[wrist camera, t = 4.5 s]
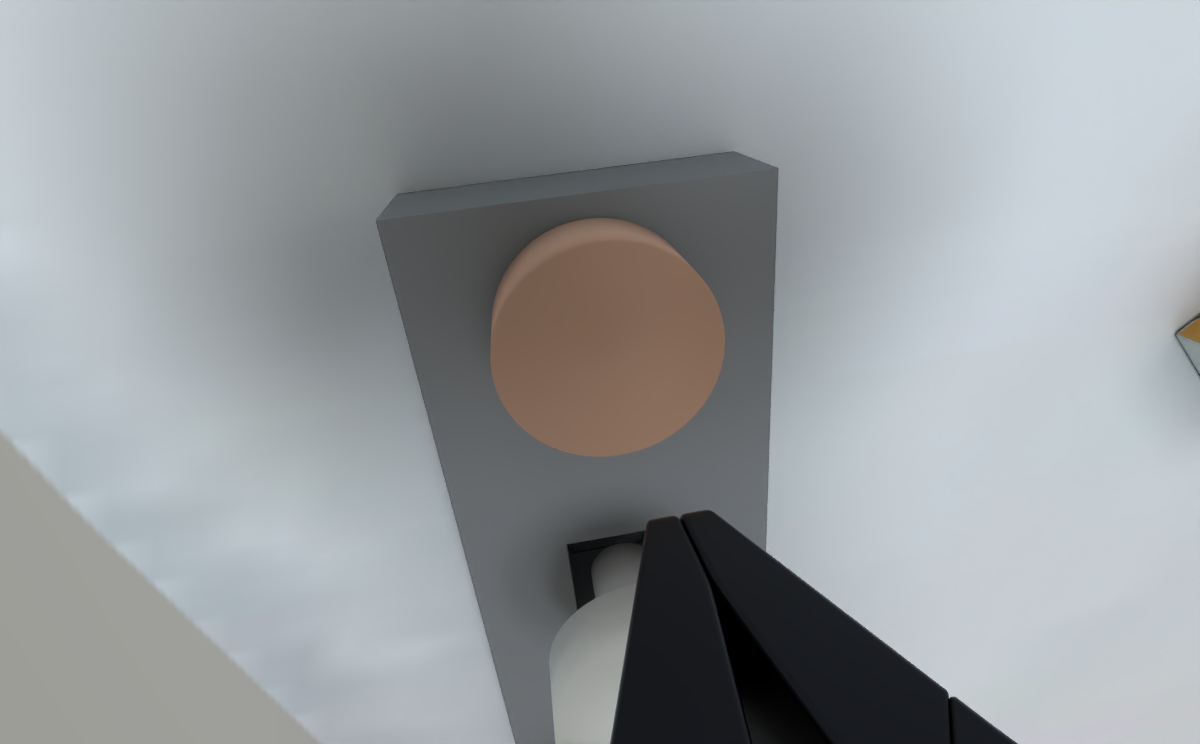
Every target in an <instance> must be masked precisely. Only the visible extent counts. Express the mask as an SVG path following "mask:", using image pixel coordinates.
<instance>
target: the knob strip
mask: <svg viewBox="0 0 1200 744" xmlns="http://www.w3.org/2000/svg"><path fill="white" fill-rule="evenodd" d="M777 193H778V168H777V167H774V166H771V165H769V164H766V163H763V162H761V161H758V160H755V159H753V158H750V157H747V156H745V155H742V154H739V153H737V152H727V153H719V154H711V155H703V156H695V157H687V158H679V159H672V160H664V161H656V162H648V163H640V164H632V165H624V166H617V167H609V168H601V169H593V170H585V171H577V172H569V173H562V174H554V175H546V176H538V177H530V178H522V179H514V180H507V181H499V182H491V183H483V184H475V185H467V186H459V187H452V188H444V189H436V190H428V191H420V192H412V193H405V194H397V195H396V196H395V198H394V199H393V200H392V201H391V202H390V204H389V205H388V206H387V207H386V209H385V210H384V211H383V212H382V213H381V215H380V216H379V217H378V218H377V220H376V223H377V227H378V231H379V235H380V238H381V242H382V246H383V250H384V253H385V257H386V261H387V265H388V268H389V272H390V276H391V279H392V283H393V287H394V291H395V294H396V298H397V302H398V306H399V309H400V313H401V317H402V321H403V324H404V328H405V332H406V336H407V339H408V343H409V347H410V351H411V354H412V358H413V362H414V366H415V369H416V373H417V377H418V380H419V384H420V388H421V392H422V395H423V399H424V403H425V407H426V410H427V414H428V418H429V422H430V425H431V429H432V433H433V437H434V440H435V444H436V448H437V452H438V455H439V459H440V463H441V467H442V470H443V474H444V478H445V481H446V485H447V489H448V493H449V496H450V500H451V504H452V508H453V511H454V515H455V519H456V523H457V526H458V530H459V534H460V538H461V541H462V545H463V549H464V553H465V556H466V560H467V564H468V568H469V571H470V575H471V579H472V583H473V586H474V590H475V594H476V597H477V601H478V605H479V609H480V612H481V616H482V620H483V624H484V627H485V631H486V635H487V639H488V642H489V646H490V650H491V654H492V657H493V661H494V665H495V669H496V672H497V676H498V680H499V684H500V687H501V691H502V695H503V698H504V702H505V706H506V710H507V713H508V717H509V721H510V725H511V728H512V732H513V736H514V740H515V743H516V744H555V734H554V721H553V708H552V695H551V682H550V669H549V655H550V650H551V646H552V643H553V641H554V639H555V636H556V634H557V633H558V631H559V630H560V628H561V627H562V626H563V624H564V623H565V622H566V621H567V620H568V619H569V618H570V617H571V616H572V615H573V614H574V613H575V612H576V611H577V610H579V609H580V608H581V607H583V606H584V605H585V604H587V603H588V602H590V601H592V600H594V599H595V593H594V588H593V582H592V576H591V566H592V563H593V561H594V559H595V558H596V557H597V555H598V554H599V553H600V552H602V551H603V550H604V549H606V548H608V547H606V548H601V549H595V550H589V551H584V552H578V553H572V554H570V552H569V546H568V544H572V543H578V542H583V541H589V540H595V539H601V538H606V537H612V536H618V535H623V534H629V533H635V532H640V531H645V529H646V524H647V522H648V521H649V520H651V519H656V518H661V517H667V516H677V517H678V518H679V519H680V516H681V515H682V514H684V513H690V512H696V511H701V510H711V511H713V512H715V513H716V514H717V515H719V516H720V517H721V518H723V519H724V520H725V521H727V522H728V523H729V524H731V525H732V526H733V527H734V528H736V529H737V530H738V531H740V532H741V533H742V534H744V535H745V536H746V537H747V538H749V539H750V540H751V541H753V542H754V543H755V544H757V545H758V546H759V547H760V548H762V549H763V550H764V551H766V530H767V499H768V468H769V438H770V407H771V377H772V346H773V315H774V285H775V254H776V224H777ZM587 218H614V219H620V220H625V221H629V222H632V223H635V224H638V225H641V226H643V227H645V228H647V229H649V230H651V231H653V232H655V233H656V234H658V235H659V236H660V237H662V238H663V239H665V240H666V241H667V242H668V243H669V244H670V245H671V246H672V247H673V248H674V249H675V250H676V251H677V252H678V253H679V254H680V255H681V256H682V257H683V258H684V259H685V260H686V261H687V262H688V263H689V265H690V266H691V267H692V268H693V269H694V270H695V271H696V272H697V273H698V274H699V275H700V276H701V278H702V279H703V280H704V282H705V283H706V284H707V285H708V287H709V288H710V290H711V292H712V293H713V295H714V297H715V299H716V301H717V304H718V306H719V309H720V311H721V315H722V319H723V324H724V331H725V352H724V358H723V363H722V368H721V371H720V374H719V377H718V380H717V382H716V384H715V386H714V388H713V390H712V392H711V394H710V396H709V397H708V399H707V400H706V402H705V403H704V405H703V406H702V407H701V408H700V410H699V411H698V412H697V413H696V414H695V416H694V417H693V418H692V419H691V420H690V421H688V422H687V423H686V424H685V425H684V426H683V427H682V428H680V429H679V430H678V431H676V432H675V433H674V434H672V435H671V436H669V437H667V438H666V439H664V440H662V441H661V442H659V443H656V444H654V445H652V446H650V447H648V448H645V449H642V450H639V451H636V452H632V453H628V454H623V455H617V456H608V457H591V456H582V455H576V454H571V453H567V452H563V451H561V450H558V449H555V448H552V447H550V446H548V445H546V444H544V443H542V442H540V441H539V440H537V439H536V438H534V437H533V436H531V435H530V434H528V433H527V432H526V431H525V430H524V429H523V428H522V427H520V426H519V425H518V424H517V423H516V421H515V420H514V419H513V418H512V417H511V416H510V414H509V413H508V411H507V410H506V408H505V407H504V405H503V404H502V402H501V400H500V397H499V395H498V393H497V391H496V388H495V384H494V381H493V377H492V371H491V364H490V349H491V325H492V309H493V303H494V298H495V295H496V292H497V288H498V285H499V283H500V281H501V279H502V277H503V275H504V273H505V271H506V270H507V268H508V267H509V265H510V264H511V262H512V261H513V260H514V259H515V257H516V256H517V255H518V254H519V253H520V252H521V251H522V250H523V249H524V248H525V247H526V246H527V245H528V244H529V243H531V242H532V241H533V240H535V239H536V238H538V237H539V236H540V235H542V234H543V233H545V232H547V231H549V230H551V229H553V228H555V227H557V226H560V225H563V224H566V223H569V222H572V221H577V220H582V219H587ZM634 543H635V544H638V545H641V546H643V541H640V542H634Z"/></svg>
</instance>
